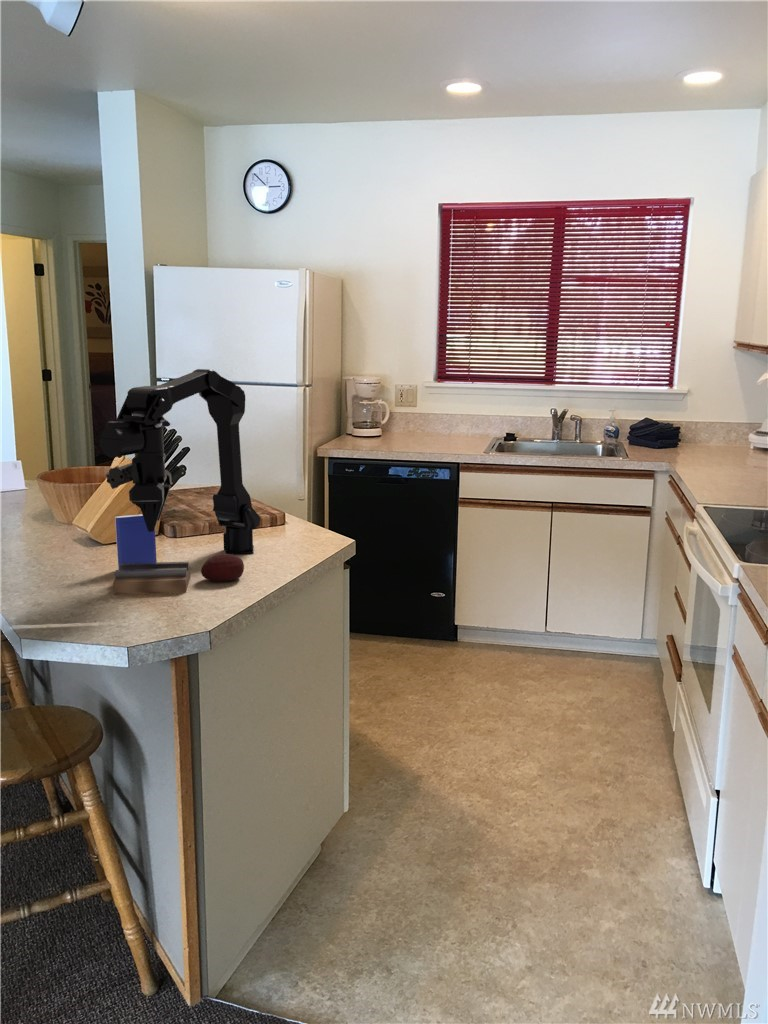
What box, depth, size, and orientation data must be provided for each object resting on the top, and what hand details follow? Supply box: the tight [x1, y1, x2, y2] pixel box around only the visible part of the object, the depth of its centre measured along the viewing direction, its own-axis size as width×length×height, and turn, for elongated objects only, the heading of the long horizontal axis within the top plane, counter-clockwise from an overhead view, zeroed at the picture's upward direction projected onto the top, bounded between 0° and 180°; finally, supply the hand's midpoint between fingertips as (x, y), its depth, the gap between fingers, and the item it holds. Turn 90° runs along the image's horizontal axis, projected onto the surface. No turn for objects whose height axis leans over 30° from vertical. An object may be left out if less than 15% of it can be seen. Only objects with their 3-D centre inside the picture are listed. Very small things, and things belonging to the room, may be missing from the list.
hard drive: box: [114, 513, 158, 570], centre depth 175 cm, size 2×8×12 cm, turn 117°
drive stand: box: [113, 561, 191, 596], centre depth 164 cm, size 14×10×4 cm
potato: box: [200, 553, 245, 583], centre depth 169 cm, size 8×9×6 cm
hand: (153, 525), depth 164 cm, fingers open, 9 cm apart
